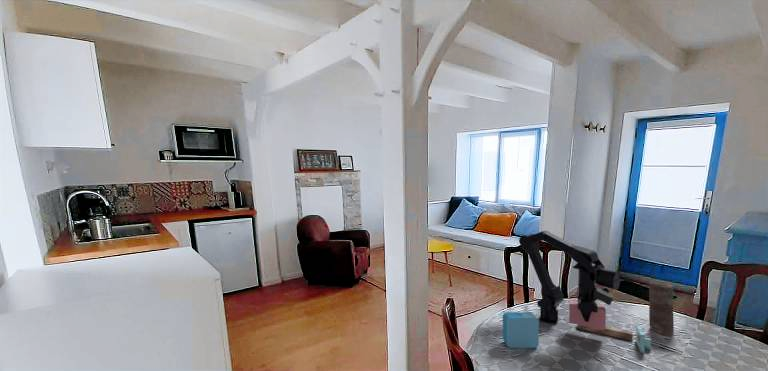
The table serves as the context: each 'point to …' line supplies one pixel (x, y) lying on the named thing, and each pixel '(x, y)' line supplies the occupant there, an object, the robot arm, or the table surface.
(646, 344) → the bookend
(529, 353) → the table surface
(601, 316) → the boxed book
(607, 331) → the rail
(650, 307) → the brown tall block
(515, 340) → the data package
